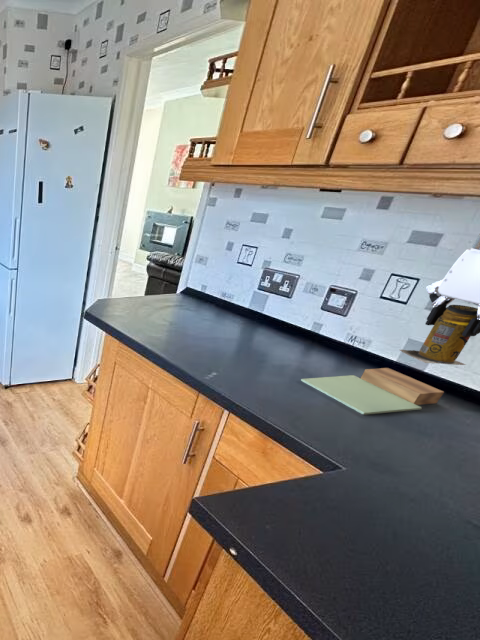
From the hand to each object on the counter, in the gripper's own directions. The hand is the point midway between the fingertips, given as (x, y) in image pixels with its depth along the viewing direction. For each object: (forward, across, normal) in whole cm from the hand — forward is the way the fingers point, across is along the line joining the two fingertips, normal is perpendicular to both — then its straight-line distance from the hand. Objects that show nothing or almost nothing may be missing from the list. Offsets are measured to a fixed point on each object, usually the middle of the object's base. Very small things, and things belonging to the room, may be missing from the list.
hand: (449, 329), depth 91 cm
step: (+23, +11, -15) cm, 30 cm away
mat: (+23, +11, -2) cm, 26 cm away
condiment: (+7, 0, 0) cm, 7 cm away
